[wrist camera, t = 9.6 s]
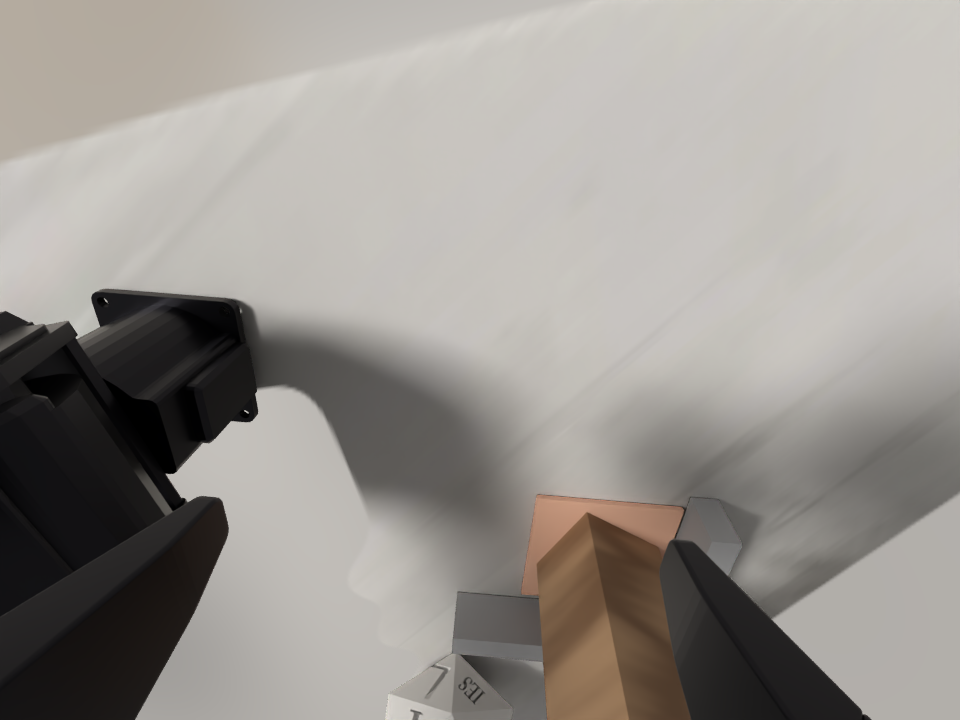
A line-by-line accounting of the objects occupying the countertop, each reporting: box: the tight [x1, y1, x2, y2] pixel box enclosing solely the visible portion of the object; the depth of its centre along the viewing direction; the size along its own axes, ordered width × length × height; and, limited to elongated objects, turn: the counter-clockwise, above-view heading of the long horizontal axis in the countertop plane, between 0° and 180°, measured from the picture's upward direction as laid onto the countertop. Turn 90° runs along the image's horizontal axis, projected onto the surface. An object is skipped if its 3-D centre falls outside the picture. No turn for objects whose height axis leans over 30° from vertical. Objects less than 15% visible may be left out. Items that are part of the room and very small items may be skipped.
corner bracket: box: [452, 497, 743, 662], centre depth 27 cm, size 14×11×3 cm
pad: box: [521, 495, 684, 596], centre depth 28 cm, size 8×8×1 cm
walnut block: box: [537, 512, 691, 720], centre depth 22 cm, size 5×5×13 cm
